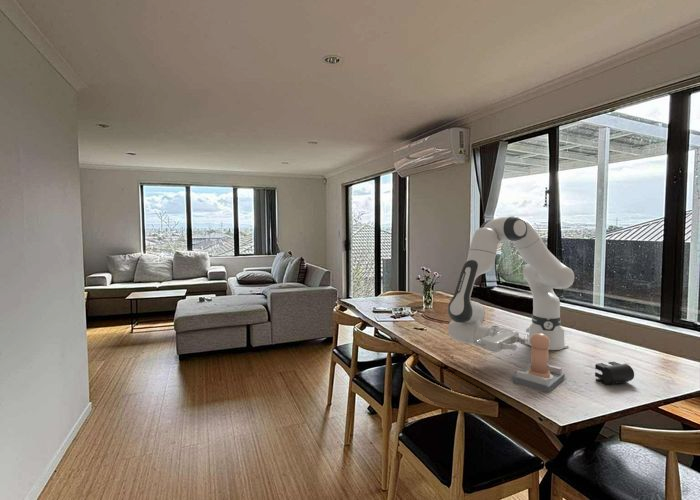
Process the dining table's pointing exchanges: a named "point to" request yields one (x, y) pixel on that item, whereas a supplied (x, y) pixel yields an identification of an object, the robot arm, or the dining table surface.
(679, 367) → the dining table surface
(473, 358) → the dining table surface
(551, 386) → the display plinth
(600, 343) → the dining table surface
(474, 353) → the dining table surface
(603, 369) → the end cap
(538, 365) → the ball-topped peg
